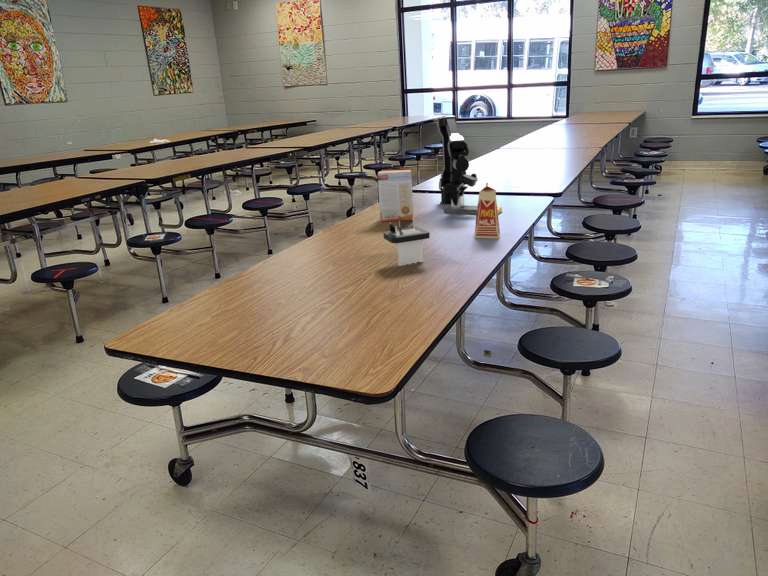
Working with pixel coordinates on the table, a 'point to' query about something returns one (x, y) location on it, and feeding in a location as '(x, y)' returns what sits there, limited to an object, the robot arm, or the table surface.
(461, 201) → the grey rectangular block
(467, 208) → the rail
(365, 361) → the table surface
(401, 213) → the cracker box
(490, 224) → the milk carton
